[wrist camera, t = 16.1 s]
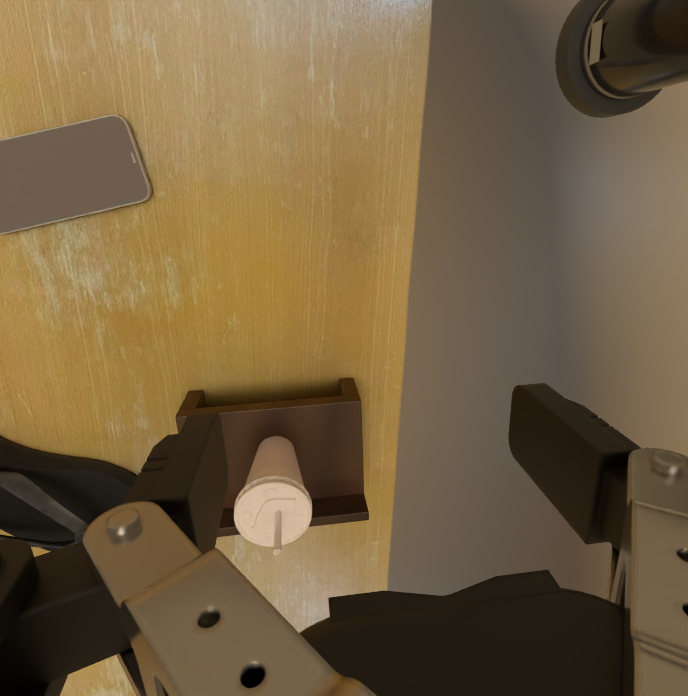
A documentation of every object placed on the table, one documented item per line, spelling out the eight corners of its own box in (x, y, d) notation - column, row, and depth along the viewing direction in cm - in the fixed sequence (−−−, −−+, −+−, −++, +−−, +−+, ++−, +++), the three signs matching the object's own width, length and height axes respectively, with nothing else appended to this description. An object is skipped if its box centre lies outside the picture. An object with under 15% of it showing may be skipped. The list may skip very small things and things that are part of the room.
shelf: (353, 377, 51) (366, 414, 42) (356, 469, 55) (369, 520, 46) (188, 391, 49) (167, 432, 41) (203, 485, 53) (187, 540, 44)
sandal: (-121, 380, 45) (-187, 410, 39) (186, 478, 52) (172, 517, 46) (-143, 481, 48) (-208, 525, 42) (150, 560, 55) (132, 607, 49)
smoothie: (320, 453, 47) (333, 556, 33) (273, 490, 47) (267, 604, 34) (278, 411, 44) (275, 503, 31) (230, 450, 45) (206, 556, 32)
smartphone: (-51, 150, 39) (122, 111, 39) (-44, 151, 39) (126, 112, 40) (-10, 237, 41) (153, 199, 42) (-4, 236, 42) (156, 199, 42)
